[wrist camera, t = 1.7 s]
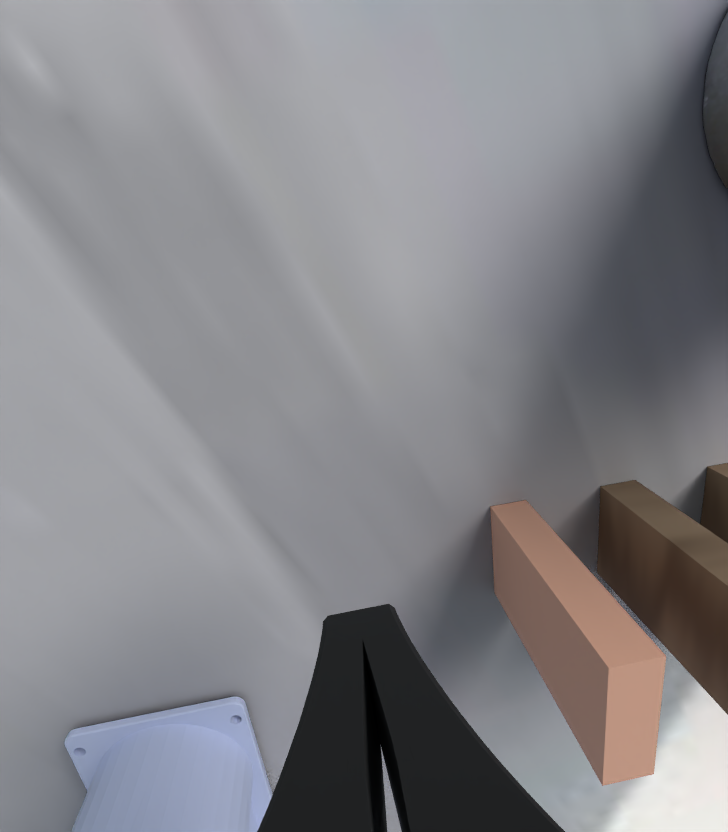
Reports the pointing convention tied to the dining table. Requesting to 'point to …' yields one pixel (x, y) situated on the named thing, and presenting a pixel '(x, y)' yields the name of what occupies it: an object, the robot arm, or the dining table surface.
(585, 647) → the domino
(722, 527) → the domino
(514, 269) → the dining table surface
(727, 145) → the pillar candle
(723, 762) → the dining table surface
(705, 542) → the domino
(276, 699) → the dining table surface
